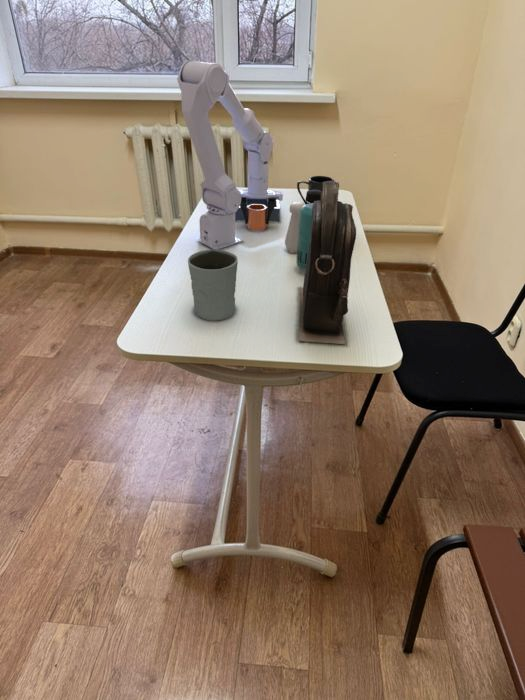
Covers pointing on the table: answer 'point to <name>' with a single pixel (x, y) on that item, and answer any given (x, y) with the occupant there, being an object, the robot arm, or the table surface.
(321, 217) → the shoulder bag
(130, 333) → the table surface
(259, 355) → the table surface
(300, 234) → the beverage bottle
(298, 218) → the salt shaker
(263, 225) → the cup
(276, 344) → the table surface
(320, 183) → the mug
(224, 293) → the grey plant pot
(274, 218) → the dark grey storage bin
